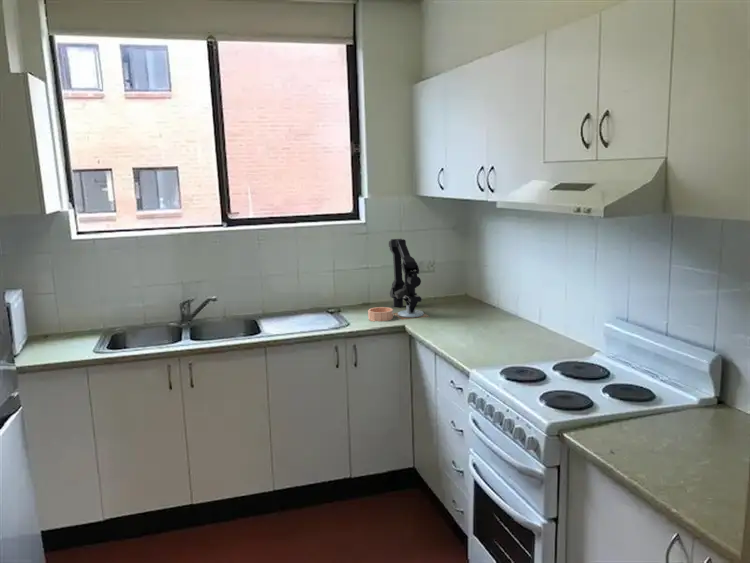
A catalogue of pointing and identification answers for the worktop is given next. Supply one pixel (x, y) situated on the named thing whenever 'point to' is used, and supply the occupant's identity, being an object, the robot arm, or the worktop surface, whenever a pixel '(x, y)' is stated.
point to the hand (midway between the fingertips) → (410, 311)
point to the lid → (408, 313)
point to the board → (410, 318)
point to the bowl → (380, 314)
